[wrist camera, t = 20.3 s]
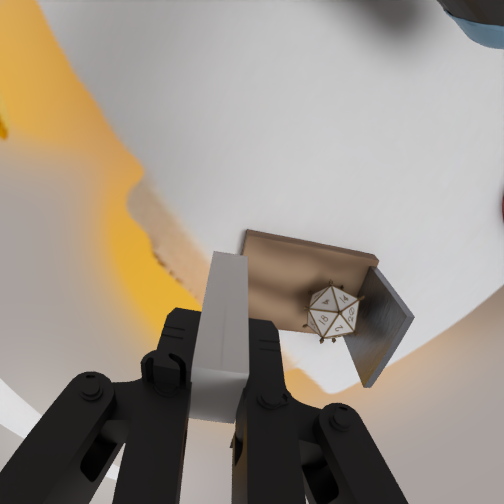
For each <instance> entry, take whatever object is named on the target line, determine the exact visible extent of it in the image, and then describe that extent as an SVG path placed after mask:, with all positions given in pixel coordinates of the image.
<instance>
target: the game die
mask: <svg viewBox="0 0 504 504" xmlns="http://www.w3.org/2000/svg"><path fill="white" fill-rule="evenodd" d="M329 284H330V285H329V286H327V287H326V288H324V289H322V290H320V291H318V292H316V293H314V294H313V293H312V292H311V291H308V294H309V295H311V299H310V302H309V306H308V307H307V306H305V307H303V309H304V310H308V312H307V324H305V325H303V326H302V328H306V327H307V326H308V327H310V328H311V329H312V330H313V331H314V332H316V333H317V334H318V335H319V336H320V337H321V339H320V340H319V341H320V344H321V343H323V341H324V339H329V338H333V339H332V342H333V343H334V342H335V341H336V339H335V338H337V337H341V336H344V335H347V334H351V333H354V335H356V336H359V333H358V332H357V331H355V329H356V322H357V318H358V317H359V316H358V309H359V302H360V300H363V299H364V297H365V296H361V297H360V298H357V297H355V296H353V295H352V294H350V293H348V292H346V291H344V290H343V289H344V287H343V285H342V286H341V287H340V288H338V287H336V286H334V285H332V284H333V281H332V280H331V279H330V281H329Z"/></svg>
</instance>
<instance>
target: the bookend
mask: <svg viewBox="0 0 504 504" xmlns="http://www.w3.org/2000/svg"><path fill="white" fill-rule="evenodd" d="M361 296H365V297H364V299H363V300H360V302H359V309H358V316H359V317H358V318H357V322H356V329H355V331H357V332H358V333H359V336H356V335H354V333H351V334H347V335H344V336H343V338H344V340H345V342H346V345H347V347H348V350H349V352H350V355H351V357H352V360H353V362H354V365H355V367H356V370H357V372H358V375H359V377H360V380H361V382H362V385H363V387H364V388H367V387H368V388H370V387H371V386H372V385H373V384H374V382H375V381H376V380H377V378H378V377H379V375H380V374H381V372H382V371H383V369H384V368H385V366H386V364H387V363H388V361H389V360H390V358H391V357H392V355H393V353H394V352H395V350H396V349H397V347H398V345H399V344H400V342H401V340H402V339H403V337H404V335H405V333H406V332H407V330H408V328H409V327H410V325H411V323H412V321H413V319H414V318H415V317H414V315H413V314H412V312H411V311H410V310H409V308H408V307H407V306H406V304H405V303H404V302H403V300H402V299H401V298H400V296H399V295H398V294H397V292H396V291H395V290H394V288H393V287H392V286H391V284H390V283H389V282H388V281H387V279H386V278H385V277H384V275H383V274H382V273H381V272H380V270H379V269H378V268H377V267H374V266H370V267H369V269H368V272H367V274H366V276H365V279H364V281H363V283H362V286H361V288H360V290H359V293H358V295H357V298H360V297H361Z"/></svg>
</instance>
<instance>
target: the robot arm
mask: <svg viewBox="0 0 504 504" xmlns="http://www.w3.org/2000/svg"><path fill="white" fill-rule="evenodd" d="M437 1H438V2H439V3H440V4H441V6H442V7H443V9H444V11H445V12H446V14H447V15H449V16H450V17H451V18H453V19H454V21H455V22H456V23H457V24H458V25H459V27H460V28H461V29H462V30H463V32H464V33H465V34H466V35H467V36H468V37H469V38H470V39H471V40H473V41H475V42H477V43H479V44H481V45H483V46H486V47H489V48H495V49H504V0H437ZM279 342H280V340H279V332H278V330H277V328H276V327H275V325H274V324H273V322H272V321H269V320H261V319H254V318H248V256H242V255H236V254H230V253H223V252H217V251H214V252H213V257H212V262H211V266H210V271H209V276H208V281H207V287H206V292H205V297H204V302H203V307H202V312H200V311H194V310H188V309H182V308H175V309H173V310H172V312H170V313H169V314H168V315H167V318H166V321H165V324H164V328H163V330H162V333H161V337H160V340H159V343H158V346H157V350H154V351H151V352H150V353H148V354H146V355H145V356H144V357H143V359H142V361H141V372H142V378H141V379H138V380H135V381H130V382H116V383H115V382H113V383H112V382H111V381H110V379H109V378H107V377H106V376H105V375H104V374H101V373H98V372H84V373H81V374H79V375H77V376H76V377H75V378H74V379H72V381H71V382H70V383H69V384H68V385H67V387H66V388H65V389H64V390H63V391H62V393H61V394H60V395H59V396H58V398H57V399H56V400H55V401H54V403H53V404H52V405H51V406H50V407H49V409H48V410H47V411H46V412H45V414H44V415H43V416H42V417H41V419H40V420H39V421H38V423H37V424H36V425H35V426H34V428H33V429H32V430H31V432H30V433H29V434H28V435H27V437H26V438H25V439H24V441H23V442H22V443H21V445H20V446H19V448H18V449H17V450H16V451H15V453H14V454H13V456H12V457H11V458H10V460H9V461H8V462H7V464H6V465H5V466H4V468H3V469H2V471H1V472H0V504H89V502H90V501H91V499H92V497H93V496H94V494H95V492H96V490H97V489H98V487H99V485H100V483H101V482H102V480H103V478H104V477H105V475H106V473H107V471H108V470H109V468H110V466H111V465H112V463H113V461H114V459H115V458H116V456H117V454H118V453H119V451H120V449H121V447H122V446H123V444H124V443H126V445H125V448H124V452H123V456H122V461H121V465H120V469H119V474H118V478H117V483H116V487H115V492H114V498H113V502H112V504H179V501H180V491H181V482H182V473H183V464H184V455H185V447H186V439H187V428H188V420H189V418H193V419H200V420H207V421H215V422H223V423H233V424H234V422H235V419H236V425H235V427H236V429H235V433H234V436H233V439H232V442H231V445H230V448H233V456H232V457H233V459H232V504H306V499H305V495H306V497H307V500H308V502H309V504H408V502H407V500H406V498H405V497H404V495H403V493H402V491H401V489H400V487H399V485H398V484H397V482H396V480H395V478H394V477H393V475H392V473H391V471H390V469H389V468H388V466H387V464H386V462H385V460H384V458H383V457H382V455H381V453H380V451H379V449H378V448H377V446H376V444H375V443H374V441H373V439H372V437H371V435H370V433H369V432H368V430H367V428H366V426H365V425H364V423H363V421H362V419H361V417H360V416H359V414H358V413H357V412H356V411H355V410H354V409H353V408H351V407H350V406H348V405H345V404H342V403H331V404H329V405H326V406H325V407H324V408H323V409H319V408H316V407H312V406H309V405H306V404H303V403H301V402H299V401H297V400H296V399H294V398H293V397H292V396H291V393H290V392H289V391H288V390H287V389H286V385H285V380H284V372H283V364H282V356H281V348H280V343H279Z"/></svg>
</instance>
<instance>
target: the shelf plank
mask: <svg viewBox="0 0 504 504" xmlns="http://www.w3.org/2000/svg"><path fill="white" fill-rule="evenodd" d="M242 256H248V318H254V319H261V320H269V321H272V322H273V324H274V325H275V327H276V328H277V329H278V330H287V331H295V332H304V333H314V334H317V333H316V332H314V331H313V330H312V329H311V328H310V327H308V326H307V327H306V328H302V326H303V325H305V324H307V312H308V310H304V309H303V307H305V306H307V307H308V306H309V302H310V299H311V295H309V294H308V291H311V292H312V293H313V294H314V293H316V292H318V291H320V290H322V289H324V288H326V287H327V286H329V285H330V284H329V281H330V279H331V280H332V281H333V284H332V285H334V286H336V287H338V288H340V287H341V286H342V285H343V287H344V289H343V290H344V291H346V292H348V293H350V294H352V295H353V296H355V297H357V295H358V293H359V290H360V288H361V286H362V283H363V281H364V279H365V276H366V274H367V272H368V269H369V267H370V266H374V267H377V265H378V263H379V260H378V259H377V258H376V256H375V255H373V254H368V253H364V252H359V251H354V250H349V249H344V248H340V247H335V246H330V245H325V244H320V243H315V242H310V241H305V240H300V239H295V238H289V237H284V236H279V235H274V234H269V233H264V232H258V231H253V230H248V229H247V233H246V238H245V242H244V247H243V251H242Z"/></svg>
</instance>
